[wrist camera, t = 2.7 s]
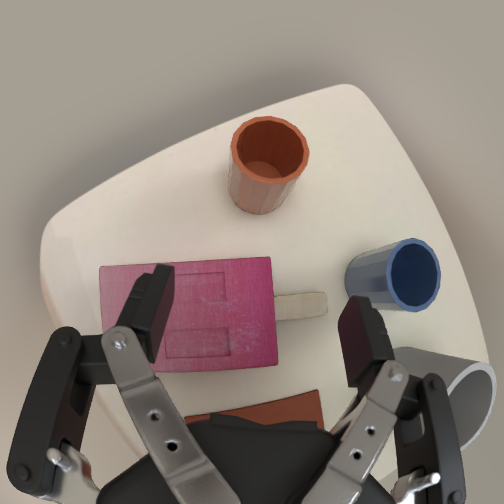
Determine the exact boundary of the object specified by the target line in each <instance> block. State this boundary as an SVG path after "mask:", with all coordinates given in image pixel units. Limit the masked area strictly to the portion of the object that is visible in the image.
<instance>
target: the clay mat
mask: <svg viewBox="0 0 504 504" xmlns="http://www.w3.org/2000/svg"><path fill="white" fill-rule="evenodd" d="M215 413H217V414H224V415H232V416H239V417H242V418H244V419H247V420H250V421H253V422H256V423H260V424H263V425H271V424H276V423H282V422H287V421H292V420H295V421H317V427H318V428H321V429H323V430H324V423H323V417H322V410H321V403H320V397H319V391H318V390H314V391H310V392H307V393H303V394H300V395H296V396H292V397H288V398H284V399H280V400H276V401H272V402H267V403H263V404H258V405H254V406H249V407H244V408H238V409H233V410H227V411H222V412H215ZM210 414H211V413H209V414H202V415H195V416H187V417H184V419H185V422H186V424H188V423H190V422H193V421H197V420H202V419H210Z"/></svg>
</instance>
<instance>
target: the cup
mask: <svg viewBox="0 0 504 504" xmlns="http://www.w3.org/2000/svg"><path fill="white" fill-rule="evenodd" d="M393 352H394V355H395V359H396V361H399V362H400V363H402V364H403V365H404V366H405V367H406V369H407V371H408V374H410V375H413V376H417V377H420V378H423V377H425V376H426V375H427V374H428V373H435V374H438V375H439V376H440V377H441V378H442V379H443V380H444V382H445V385H446V389H447V392H448V396H449V400H450V404H451V408H452V412H453V416H454V421H455V425H456V430H457V435H458V440H459V445H460V451H463V450H464V449H465V448H466V447H468V446H469V445H470V444H471V443H472V442H473V441H474V439H475V438H476V437H477V436H478V434H479V433H480V432H481V430H482V429H483V427H484V426H485V424H486V422H487V420H488V418H489V416H490V413H491V411H492V408H493V404H494V401H495V395H496V376H495V374H494V371H493V369H492V368H491V366H490V365H488V364H487V363H484V362H479V361H473V360H468V359H463V358H458V357H453V356H448V355H443V354H439V353H434V352H429V351H425V350H420V349H416V348H411V347H400V348H396V349H394V350H393ZM420 420H421V425H422V431H423V435H424V431H425V428H424V422H423V417H422V414H420Z"/></svg>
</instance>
